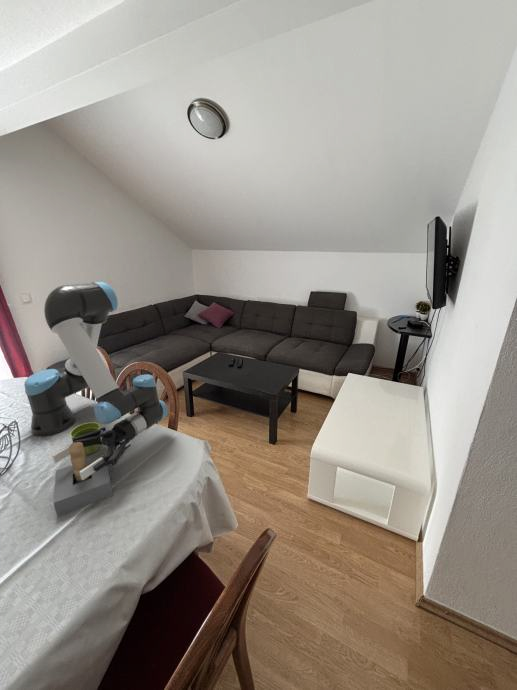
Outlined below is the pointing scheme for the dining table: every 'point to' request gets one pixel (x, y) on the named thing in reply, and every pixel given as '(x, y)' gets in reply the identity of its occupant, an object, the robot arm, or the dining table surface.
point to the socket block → (80, 488)
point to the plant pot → (86, 429)
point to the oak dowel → (78, 460)
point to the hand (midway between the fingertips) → (66, 467)
